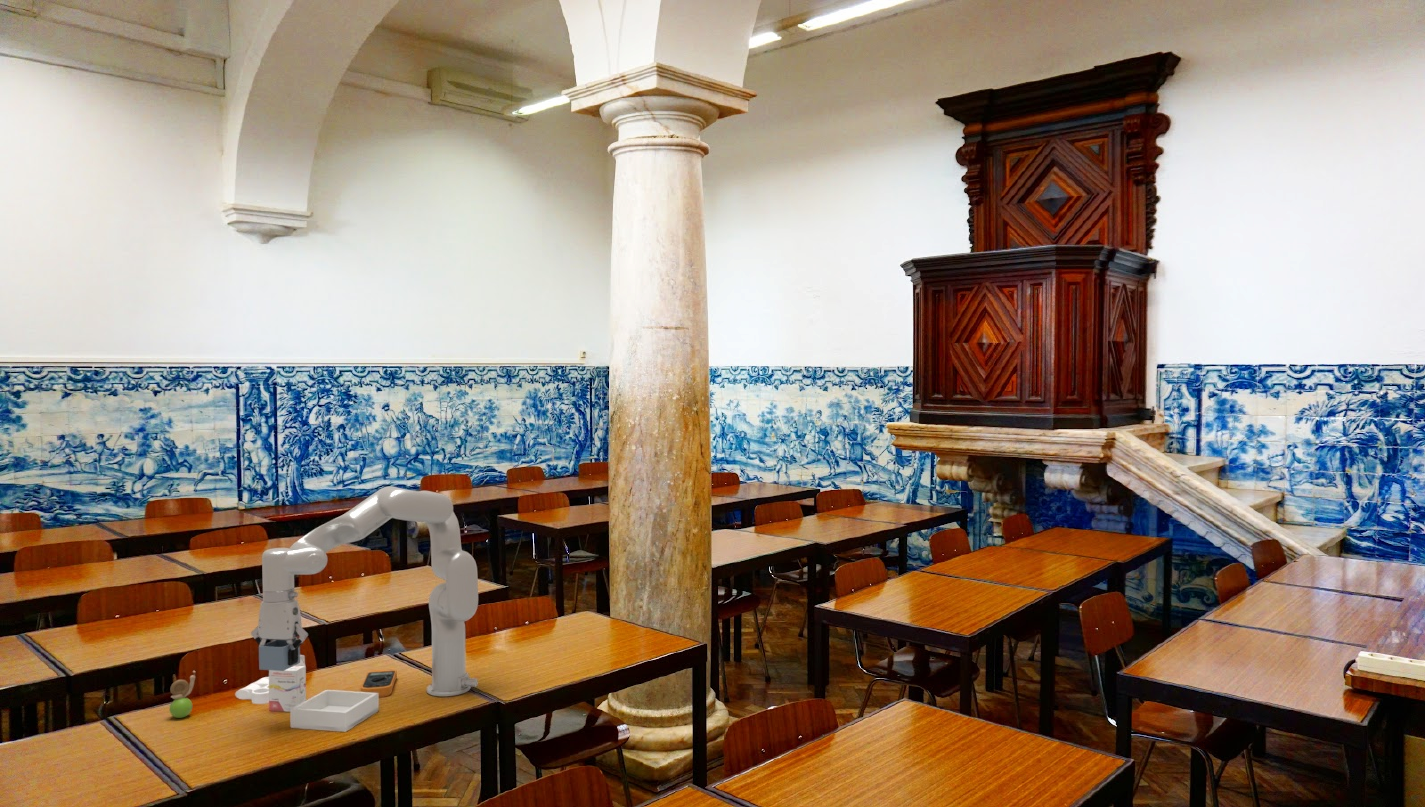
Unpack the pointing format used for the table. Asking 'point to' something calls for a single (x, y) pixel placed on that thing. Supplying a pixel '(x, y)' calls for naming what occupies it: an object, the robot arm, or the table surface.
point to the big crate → (334, 710)
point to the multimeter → (379, 682)
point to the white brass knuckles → (256, 691)
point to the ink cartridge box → (287, 687)
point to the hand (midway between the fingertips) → (280, 662)
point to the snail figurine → (181, 697)
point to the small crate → (275, 656)
